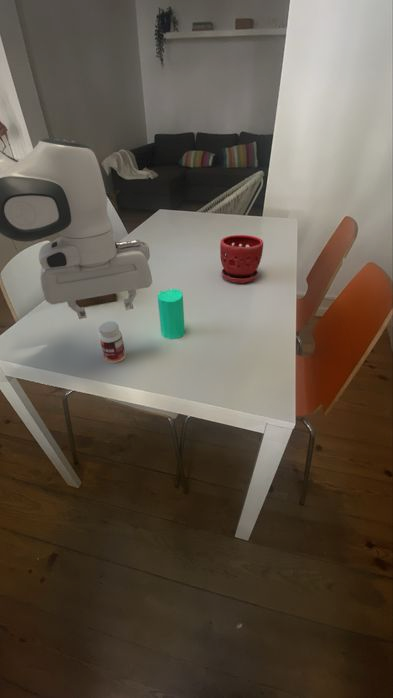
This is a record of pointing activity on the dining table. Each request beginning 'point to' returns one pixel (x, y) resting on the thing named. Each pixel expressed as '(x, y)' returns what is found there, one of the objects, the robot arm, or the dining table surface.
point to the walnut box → (97, 300)
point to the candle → (171, 313)
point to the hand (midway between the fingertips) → (106, 312)
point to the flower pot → (240, 257)
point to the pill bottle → (112, 342)
